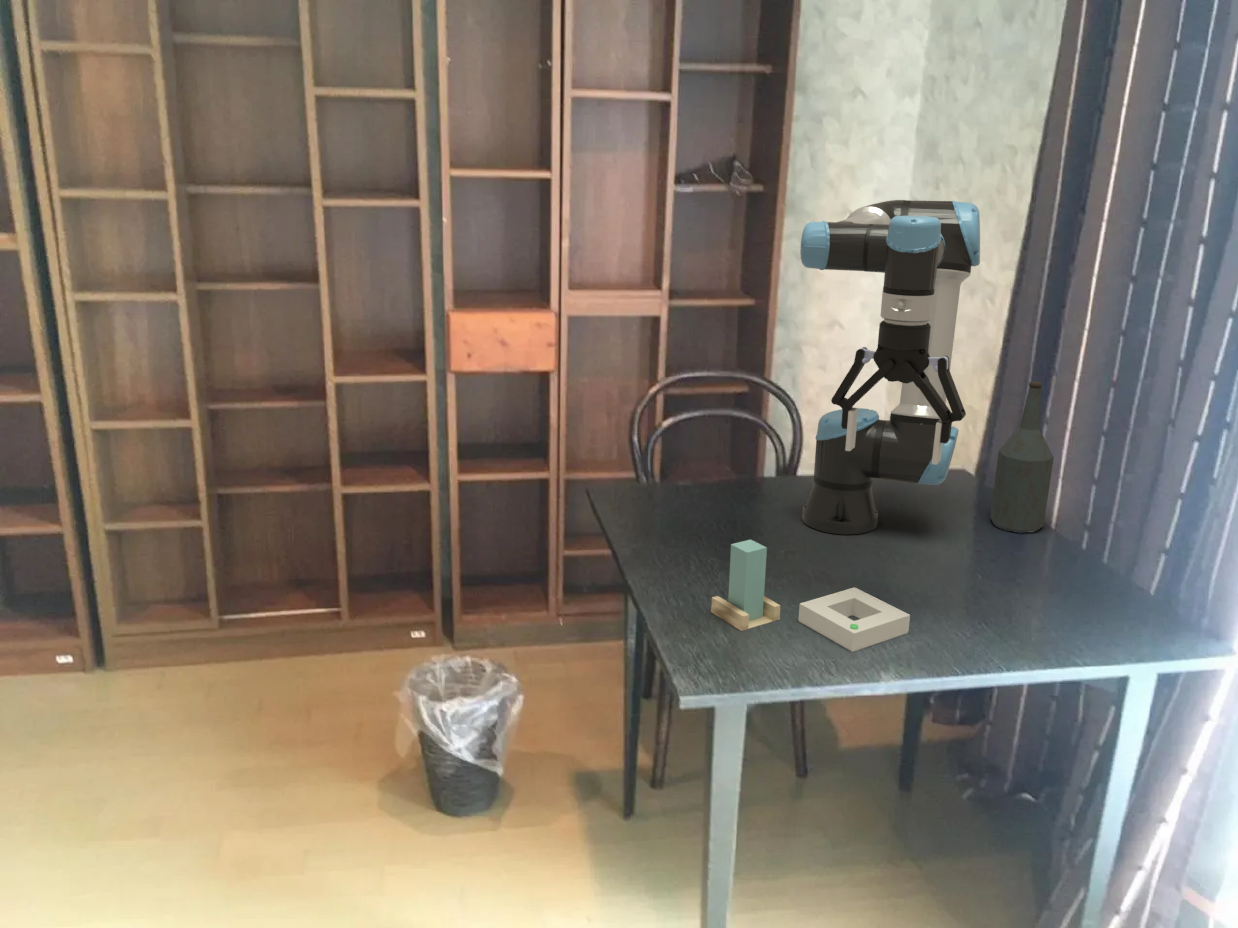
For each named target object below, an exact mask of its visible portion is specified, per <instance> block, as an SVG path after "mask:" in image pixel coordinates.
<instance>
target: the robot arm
mask: <svg viewBox="0 0 1238 928" xmlns="http://www.w3.org/2000/svg"><path fill="white" fill-rule="evenodd" d="M980 223H981V220H980V209H979V208H978V207H977V205H975V204H974V203H973V202H972V203H971V202H963V201H955V200H905V199H893V200H885V201H880V202H876V203H872V204H869V205H865V206H862V207H860V208H857V209H855V210H854V211H852V212H851V213H850V214H849V215H848V216H847V217H846V218H845V219H843V220H839V221H836V222H834V221H833V222H832V221H825V220H822V221H811V222H807V224H805V226H804V227H803V230H802V234H801V239H800V253H799V254H800V260H801V263H802V265H803V267H804V268H807V269H816V270H820V271H824V270H826V271H827V270H828V271H829V270H830V271H851V272H852V271H853V272H854V271H855V272H869V273H883V274H884V276H883V277H884V278H883V286H882V293H881V295H882V296H881V304H880V305H881V306H880V307H881V308H880V317H881V318H882V321H881V322H879V326H878V327H879V328H878V336H877V337H878V339H877V346H876V347H877V348H876V350H875V351H874V350H871V349H868V348H867V347H866V346H862V347H861V348H859V349H856V352H855V357H854V361H853V364H852V365H851V367H850V368H849V370H848V372H847V373H846V375H845V377H844V378H843V380H842V381H841V383H840V385H839V386H838V388H837V390H836V391H835V393H834V394H833V396H832V398H831V399H830V401H831V404H833V405H835V406H836V405H837V406H839V408H840V409H837V410H833V411H829V412H827V413H824V414H823V415H822V416H821V417H820V418H819V420H818V423H817V431H816V436H815V440H816V441H815V443H816V444H815V454H814V455H815V456H814V466H813V467H814V469H813V482H812V486H811V488H810V491H809V493H808V496H807V499H806V502H805V503H804V505H803V507H802V514H801V519H802V520H801V521H802V522H803V523H804V524H805V525H806V526H808V527H810V528H812V529H814V530H817V531H820V532H824V533H829V534H835V535H836V534H837V535H859V534H860V535H861V534H865V533H868V532H869V533H870V532H872V531H874V530H875V529H876V528H877V526H878V522H879V521H878V518H879V513H878V510H877V509H876V502H875V497H874V493H873V479H881V480H888V481H896V482H904V483H913V484H917V485H918V486H919V485H933V486H938V485H940V484H942V483H943V482H944V481H945V480H946V478H947V475H948V473H949V469H950V466H951V462H952V459H953V455H954V452H955V448H956V445H957V439H958V435H959V428H958V427H956V426H953V423H954V422H960V421H962V420H963V419H964V418H965V417H966V415H967V414H966V410H965V408H964V405H963V402H962V399H961V398H960V394H959V392H958V389H957V387H956V385H955V382H954V379H953V376H952V373H951V364H952V358H953V349H954V348H953V347H954V343H955V334H956V333H955V332H956V325H957V316H958V309H959V302H960V301H959V300H960V293H961V285H962V283H963V282H964V281H965V280H967V279H968V278H969V277H970V276H971V272H972V267H977V266H979V265H980V263H981V224H980ZM871 359H873V362H874V363H875V365H876V366H877V368H878V370H876V371H875V372H874V373H873V374H872V375H871V376H870V377H869V378H868V379H867V380H866V381H865V382H864V383H863V384H862V385H860V387H858V389H857V390H855V392H854V393H853V394H851V395H850V396H849V397H848V398H847V397H846V396H847V394H848V392H849V390H850V389H851V388H852V387H853V384H854V383H855V381H856V379H857V378H858V376H859V374H860V373H861V371H862V370H863V368H864V366H865V364H868V363H870V361H871ZM883 378H884V379H885V380H887V382H890V383H891V382H892V383H893V382H899V383H901V391H900V399H899V404H898V405H897V406H895V408H893V409H892V410H890V415H889V420H886V419H885V420H884V419H880V415H879V412H878V411H876V410H874V409H869V408H859V407H854V406H855V405H856V403H857V402H859V401H860V400H861V399H862V398H863V397H864V396H865V395H866V394H867V393H868V392H869V391H870V390H871V389H873V388H874V386H876V385H877V384H878V383H879V382H880V381H881V380H882V379H883ZM947 403H948V405H949V407H948V406H947ZM949 408H950V409H949Z"/></svg>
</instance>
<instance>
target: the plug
mask: <svg viewBox="0 0 1238 928" xmlns="http://www.w3.org/2000/svg"><path fill="white" fill-rule="evenodd" d="M767 550H768V547H767V546H764V545H762V544H761V543H759V542H757V541H754V540H752V539H747V540H742V541H739V542H734V543H730V556H729V557H730V559H729V578H728V579H729V580H728V596H727V597H728V598H727V599H728V600H727V602H729V603H731V604H732V605H734V606H736V607H737V608H739V609H741V610H742V611H744V612H746V613H747V614H749V621H751V620H754V619H757V618H761V617H763V605H764V596H765V587H766V585H765V584H766V573H767V571H766V570H767V553H768V551H767Z"/></svg>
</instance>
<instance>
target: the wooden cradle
mask: <svg viewBox="0 0 1238 928" xmlns="http://www.w3.org/2000/svg"><path fill="white" fill-rule="evenodd" d="M710 612H711V613H712V614H713V615H715V616H716V617H719V619H722V620H723V621H725V622H726V623H728V624H729V625H731V626H733V628H734V627H735V628H736V629H738V630H739V631H741V632H743V631H746V630H749V629H753V628H755V627H759V626H762V625H766V624H768V623H772V622H775V621H778V620H781V617H780V616H781V605H780V604H779V603H777V602H775V601H773V600H772V599H770V598H768V597H766V596H765V595H764V605H763V617H761V618H757V619H754V620H751V621H749V614H747V613H746V612H744V611H742V610H741V609H739V608H737V607H736V606H734V605H732V604H731V603H729V602H728V600H726V599H724V598H723V597H720V596H719V595H716V596H712V597H711V610H710Z"/></svg>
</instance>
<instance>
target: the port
mask: <svg viewBox="0 0 1238 928" xmlns="http://www.w3.org/2000/svg"><path fill="white" fill-rule="evenodd" d="M798 605H799V608H798V609H799V610H798V622H799V623H801V624H803V625H805V626H806V627H808V628H810V629H811V630H814V631H815V632H817V633H819V634H821V635H822V636H824V637H826V638H827V639H830V640H831V641H833V643H836V644H838V645H840V646H841V647H843V648H845V649H846V650H849V651H850V652H851V653H853V652H856V651H859V650H863V649H864V648H868V647H871V646H874V645H877V644H879V643H882V642H885V641H888V640H891V639H894V638H897V637H899V636H903V635H905V634H906V635H907V634H908V633H909V631H910V630H909V628H910V622H911V621H910V619H911V614H909V613H907V612H905V611H903V610H901V609H899V608H897V607H895V606H893V605H891V604H889V603H887V602H885V601H883V600H882V599H881V600H880V599H879V598H877V597H875V596H873V595H871V594H869V593H866V592H865V591H863V590H861V589H859V588H857V587H851V588H847V589H845V590H841V591H838V592H834V593H831V594H827V595H824V596H821V597H817V598H813V599H810V600H807V601H803V602H800V603H799V604H798ZM851 616H852V617H853V616H854V617H856V618H858V619H857V620H853V619H852V618H849V617H851Z"/></svg>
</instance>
